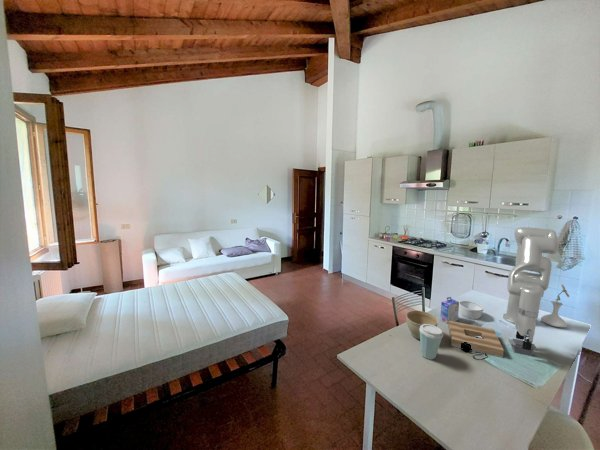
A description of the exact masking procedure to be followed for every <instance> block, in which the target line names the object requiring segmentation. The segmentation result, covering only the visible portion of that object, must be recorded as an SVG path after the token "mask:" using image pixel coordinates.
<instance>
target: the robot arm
mask: <svg viewBox="0 0 600 450" xmlns="http://www.w3.org/2000/svg"><path fill="white" fill-rule="evenodd" d="M557 235H558V234H557V232H556V231H555V230H554V229H549V228H538V227H525V226H522V227H521V226H520V227H516V228H515V230H514V239H515V241H516V244H517V245H516V246H517V249H516V255H515V264H514V266H513V267H512V268H511V270H510V271H509V273H508V277H507V292H508V293H509V295H508V301H507V309H506V313H504V314H503V315H502V318H503V319H504V320H505V321H507V322H509V323H511V324H514V326H515V329H516V332H515V333H516V334H515V339H518V340H523V346H522V348H523V349H526V350H531V346H532V344H533V341H534V337H535V330H536V319H538V318H539V312H540V307H541V300H542V298H543V297H544V294H545V291H547V290H548V288H549V284H550V280H551V279H550V278H551V273H552V260H551V259H550V258H549V257H547V256H543V254H549V255H554V254H557V252H558V251H559V248H560V247H559V245H560V244H559V238H558V236H557Z"/></svg>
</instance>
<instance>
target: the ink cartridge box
mask: <svg viewBox="0 0 600 450" xmlns="http://www.w3.org/2000/svg"><path fill="white" fill-rule="evenodd" d="M459 302H460V301H458V300H456V299H453V298H452V297H451V296H448V297H446V300H445V301H444V300H443V301H441V302H440V303H441V305H440V306H441V308H440V318H439V319H440V321H442V322H444V323H445V324H449V321H453V322H458V321H459V312H460V311H459Z"/></svg>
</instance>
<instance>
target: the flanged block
mask: <svg viewBox="0 0 600 450" xmlns="http://www.w3.org/2000/svg"><path fill="white" fill-rule="evenodd" d="M523 341H524V340H521V339H517V338H512V339H511V338H508V343H509V345H510V346H511V349H512V350H513V352H514V353H515V354H520V355H524V356H527V357H533V353H534V351H535V352H538V350H539V349H538V348H537V346H536V345H535V344H534V343H532V346H531V350H526V349H523V348H522V346H523Z"/></svg>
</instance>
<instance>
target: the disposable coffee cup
mask: <svg viewBox="0 0 600 450" xmlns="http://www.w3.org/2000/svg"><path fill="white" fill-rule="evenodd" d="M419 331H420V339H419V341H420V343H419V344H420V345H419V346H420V354H421V356H422V357H424V358H425V359H427V360H434V359H436V356H437V355H438V351H439V348H440V345H441V342H442V338H443V337H444V332H443V330H442V329H441V328H440V327H438V326H437V327H436V326H434V325H430V324H423V325H421V326H420V329H419Z"/></svg>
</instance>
